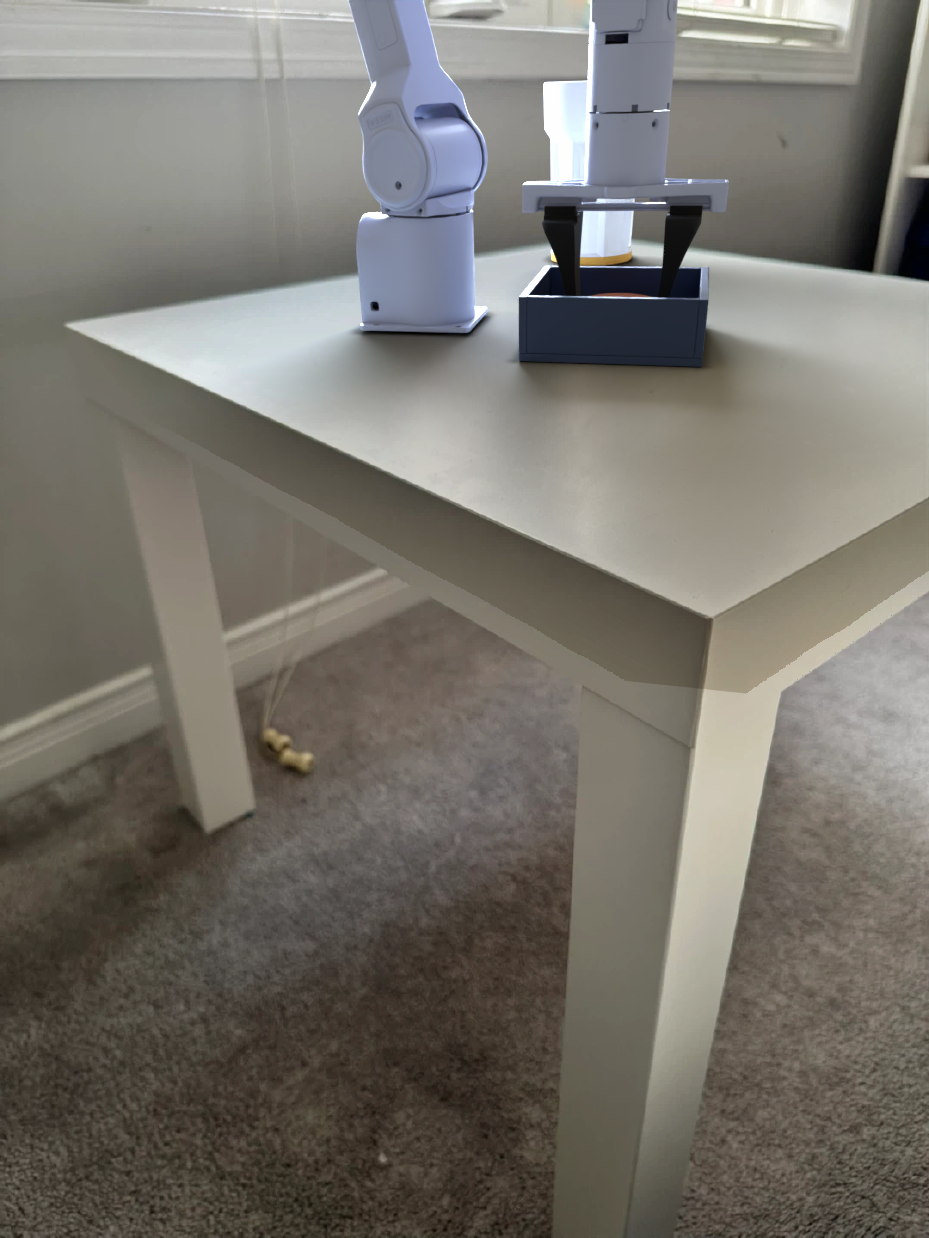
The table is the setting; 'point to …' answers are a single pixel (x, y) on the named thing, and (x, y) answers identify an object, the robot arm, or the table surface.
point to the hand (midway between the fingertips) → (617, 314)
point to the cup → (583, 174)
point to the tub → (615, 317)
